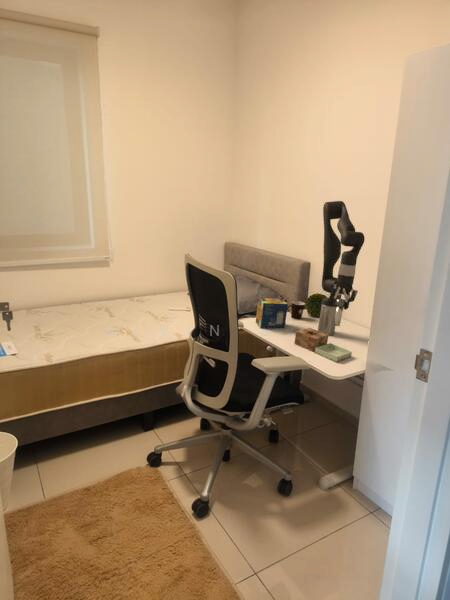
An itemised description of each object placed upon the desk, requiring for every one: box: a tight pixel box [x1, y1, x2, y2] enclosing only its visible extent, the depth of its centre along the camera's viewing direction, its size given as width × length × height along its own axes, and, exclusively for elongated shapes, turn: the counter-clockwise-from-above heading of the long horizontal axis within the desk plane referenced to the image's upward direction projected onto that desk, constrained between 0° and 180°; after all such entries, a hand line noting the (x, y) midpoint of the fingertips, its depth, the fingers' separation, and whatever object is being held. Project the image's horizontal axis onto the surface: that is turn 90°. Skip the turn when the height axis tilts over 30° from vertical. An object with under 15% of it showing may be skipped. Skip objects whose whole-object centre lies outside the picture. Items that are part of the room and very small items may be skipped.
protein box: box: [255, 297, 289, 329], centre depth 230 cm, size 10×15×16 cm
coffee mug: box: [287, 300, 306, 320], centre depth 250 cm, size 12×9×10 cm
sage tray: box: [314, 342, 353, 363], centre depth 196 cm, size 13×13×3 cm
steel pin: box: [333, 298, 346, 327], centre depth 190 cm, size 5×5×13 cm
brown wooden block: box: [294, 327, 329, 353], centre depth 205 cm, size 12×12×7 cm
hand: (340, 307), depth 189 cm, fingers closed on steel pin, 5 cm apart
